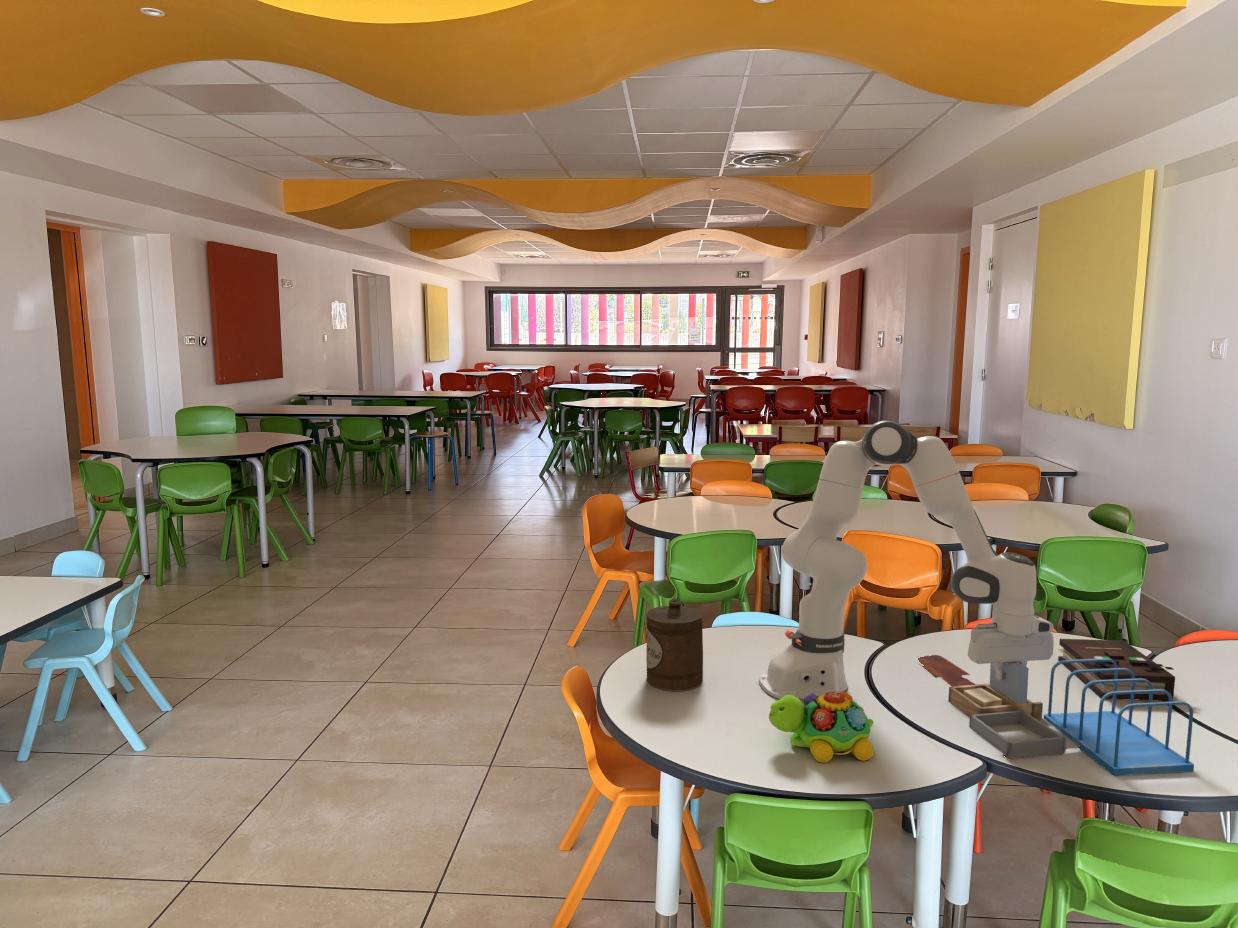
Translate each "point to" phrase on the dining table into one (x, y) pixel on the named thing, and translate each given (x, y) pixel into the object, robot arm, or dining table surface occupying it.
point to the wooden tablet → (945, 670)
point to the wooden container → (674, 647)
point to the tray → (1018, 749)
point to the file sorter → (1120, 729)
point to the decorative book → (1124, 659)
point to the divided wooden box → (1007, 705)
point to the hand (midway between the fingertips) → (1008, 678)
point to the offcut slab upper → (982, 697)
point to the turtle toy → (824, 724)
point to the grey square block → (1011, 681)
